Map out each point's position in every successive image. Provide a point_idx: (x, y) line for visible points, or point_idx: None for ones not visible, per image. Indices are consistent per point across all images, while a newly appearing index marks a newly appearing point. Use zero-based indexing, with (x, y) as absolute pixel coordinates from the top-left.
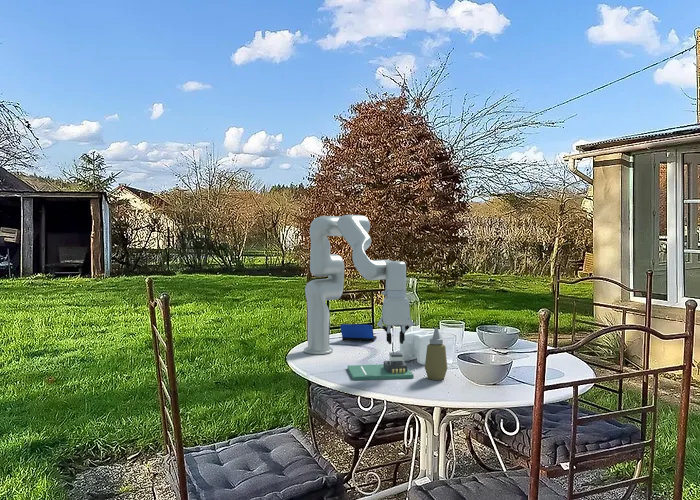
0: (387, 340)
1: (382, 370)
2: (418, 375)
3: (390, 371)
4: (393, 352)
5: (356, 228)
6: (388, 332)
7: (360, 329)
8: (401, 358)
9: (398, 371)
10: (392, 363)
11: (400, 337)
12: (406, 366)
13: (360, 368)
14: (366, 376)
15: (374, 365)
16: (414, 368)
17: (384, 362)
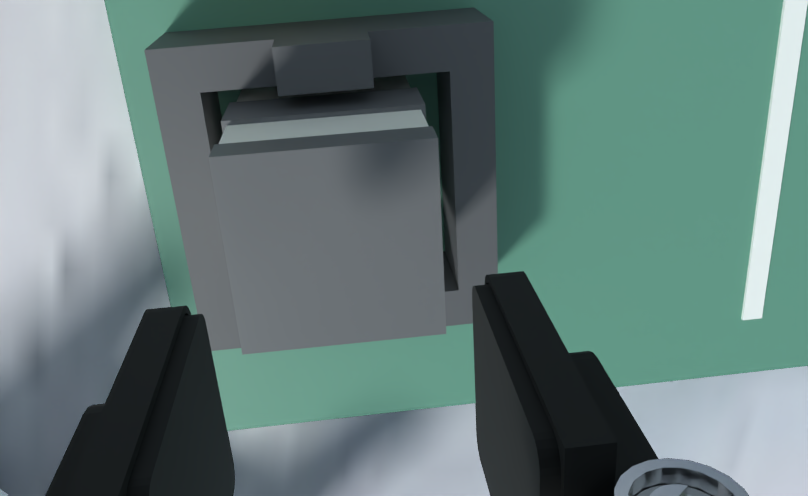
0: (592, 354)
1: (525, 119)
2: (6, 2)
3: (430, 13)
4: (370, 329)
5: None
6: (674, 490)
7: None
8: (236, 136)
9: (305, 23)
10: (402, 94)
11: (196, 481)
12: (166, 45)
13: (786, 225)
14: None
15: None
16: (63, 347)
17: (496, 255)
